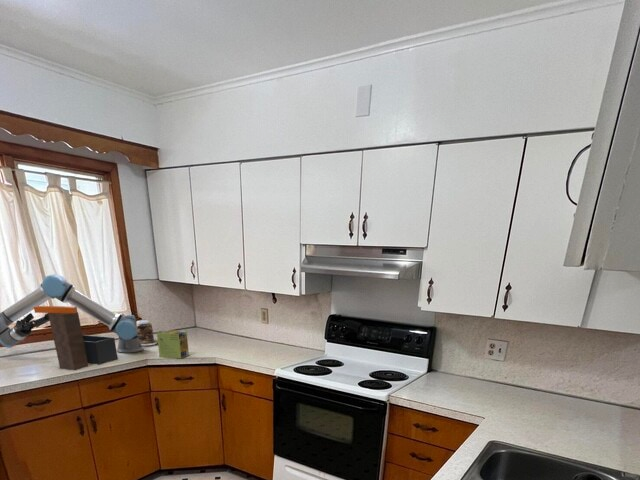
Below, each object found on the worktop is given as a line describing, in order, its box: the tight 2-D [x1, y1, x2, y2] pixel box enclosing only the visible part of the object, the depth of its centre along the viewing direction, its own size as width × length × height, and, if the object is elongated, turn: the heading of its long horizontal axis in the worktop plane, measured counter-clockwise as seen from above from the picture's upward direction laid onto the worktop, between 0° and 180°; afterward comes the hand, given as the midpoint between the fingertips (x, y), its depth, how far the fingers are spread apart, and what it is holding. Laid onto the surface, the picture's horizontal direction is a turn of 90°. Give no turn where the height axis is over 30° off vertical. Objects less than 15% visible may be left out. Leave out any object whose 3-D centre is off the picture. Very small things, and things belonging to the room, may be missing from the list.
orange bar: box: [33, 305, 78, 314], centre depth 229 cm, size 20×4×3 cm, turn 94°
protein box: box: [156, 329, 190, 359], centre depth 270 cm, size 10×15×16 cm
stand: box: [48, 311, 89, 371], centre depth 236 cm, size 10×10×30 cm
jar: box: [136, 319, 155, 344], centre depth 308 cm, size 12×12×15 cm
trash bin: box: [82, 334, 119, 366], centre depth 255 cm, size 24×16×13 cm, turn 75°
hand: (43, 313), depth 233 cm, fingers open, 13 cm apart
